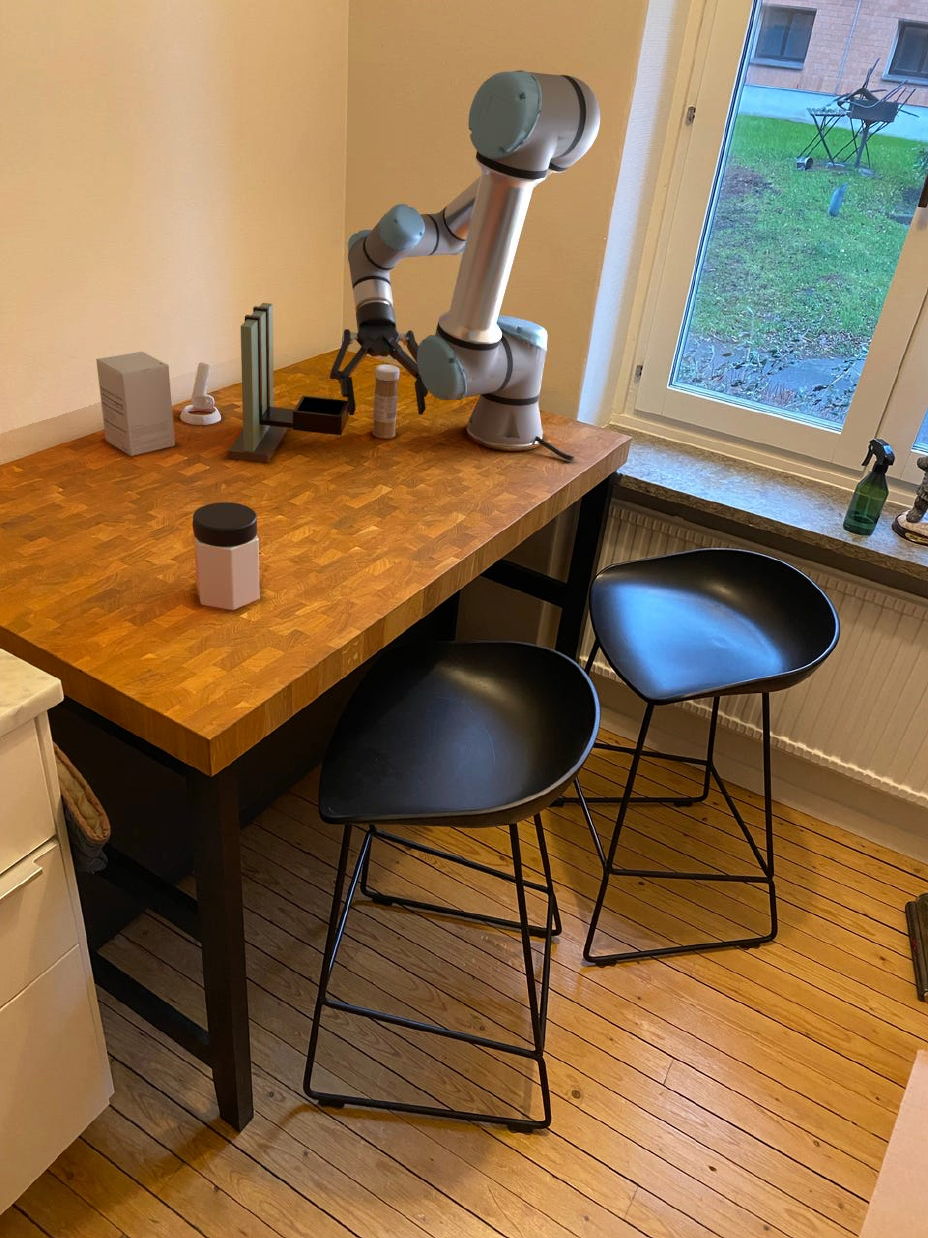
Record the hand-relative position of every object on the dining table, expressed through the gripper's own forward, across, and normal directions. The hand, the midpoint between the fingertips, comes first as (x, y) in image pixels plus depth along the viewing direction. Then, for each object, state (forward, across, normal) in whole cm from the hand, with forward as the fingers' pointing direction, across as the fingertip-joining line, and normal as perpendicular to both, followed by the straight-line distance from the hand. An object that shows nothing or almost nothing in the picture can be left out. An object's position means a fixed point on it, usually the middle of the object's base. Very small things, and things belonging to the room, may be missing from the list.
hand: (387, 412), depth 178 cm
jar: (+42, +35, +34) cm, 64 cm away
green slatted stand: (+4, +24, -3) cm, 25 cm away
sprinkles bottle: (+2, 0, -6) cm, 6 cm away
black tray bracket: (+3, +17, +2) cm, 18 cm away
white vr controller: (-5, +34, -13) cm, 37 cm away
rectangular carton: (+4, +45, -4) cm, 45 cm away
